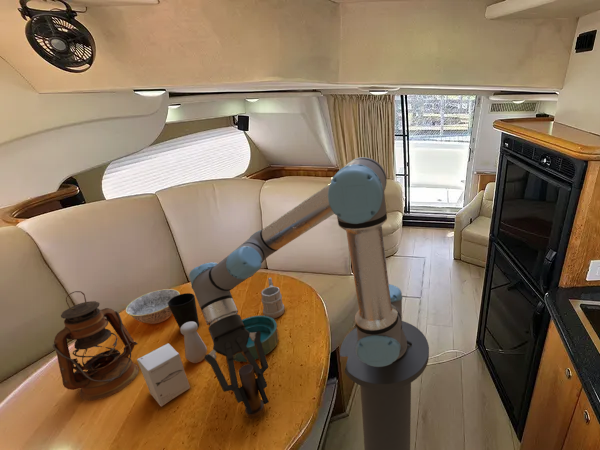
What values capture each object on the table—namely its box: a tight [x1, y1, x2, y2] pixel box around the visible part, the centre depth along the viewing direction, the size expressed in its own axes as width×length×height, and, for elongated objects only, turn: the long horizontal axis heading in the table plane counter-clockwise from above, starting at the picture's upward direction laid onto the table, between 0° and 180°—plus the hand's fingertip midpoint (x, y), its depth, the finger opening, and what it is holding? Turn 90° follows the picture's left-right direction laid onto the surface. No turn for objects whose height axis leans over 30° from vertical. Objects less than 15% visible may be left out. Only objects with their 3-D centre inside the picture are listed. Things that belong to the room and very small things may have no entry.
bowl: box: [125, 288, 181, 325], centre depth 115 cm, size 16×16×8 cm
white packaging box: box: [136, 343, 191, 408], centre depth 84 cm, size 7×7×13 cm
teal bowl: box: [233, 315, 280, 363], centre depth 102 cm, size 16×16×6 cm
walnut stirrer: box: [238, 363, 266, 420], centre depth 77 cm, size 4×4×14 cm
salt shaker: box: [179, 321, 208, 364], centre depth 95 cm, size 6×6×13 cm
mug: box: [260, 277, 285, 319], centre depth 118 cm, size 8×12×12 cm, turn 21°
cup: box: [168, 292, 200, 329], centre depth 109 cm, size 8×8×12 cm
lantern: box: [52, 290, 140, 401], centre depth 84 cm, size 17×13×30 cm
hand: (258, 408), depth 76 cm, fingers closed on walnut stirrer, 3 cm apart
